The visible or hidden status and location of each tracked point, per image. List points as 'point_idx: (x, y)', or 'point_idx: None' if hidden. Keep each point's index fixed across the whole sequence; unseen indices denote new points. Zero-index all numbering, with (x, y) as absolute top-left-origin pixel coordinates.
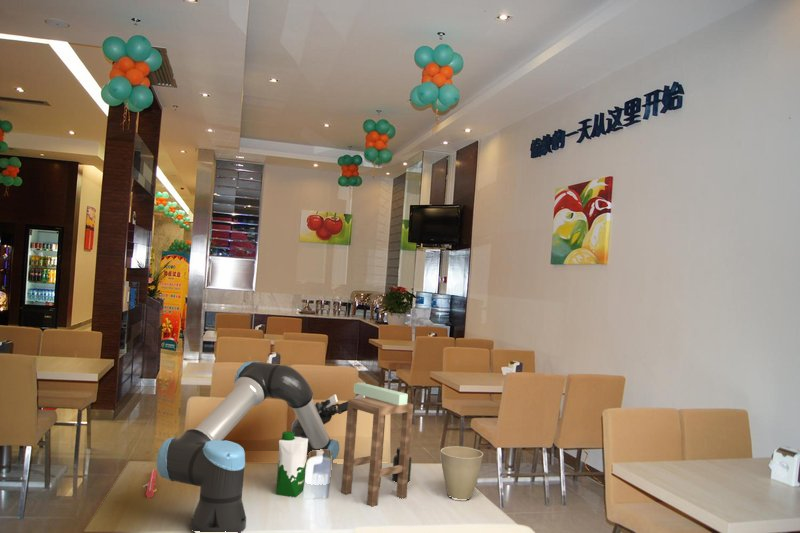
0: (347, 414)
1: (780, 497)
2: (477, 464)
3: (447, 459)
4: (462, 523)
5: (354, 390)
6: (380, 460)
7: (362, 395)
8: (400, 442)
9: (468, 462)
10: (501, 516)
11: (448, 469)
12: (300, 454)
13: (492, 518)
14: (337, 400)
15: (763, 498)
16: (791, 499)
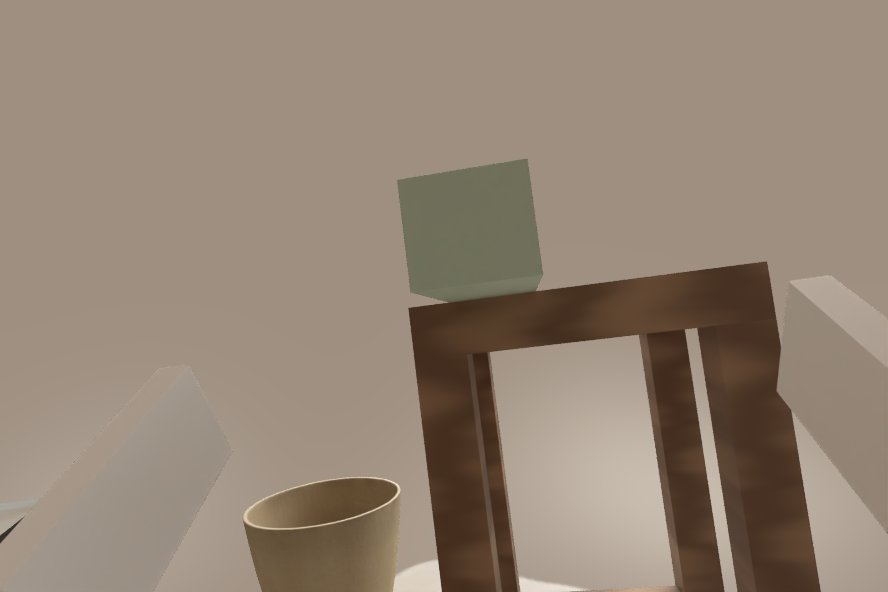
0: None
1: (10, 505)
2: (349, 501)
3: (397, 512)
4: (523, 578)
5: (538, 244)
6: (669, 530)
7: (197, 407)
8: (505, 497)
9: (380, 492)
10: (403, 572)
11: (396, 547)
12: None
13: (432, 572)
14: (780, 376)
15: (25, 508)
16: (19, 501)
